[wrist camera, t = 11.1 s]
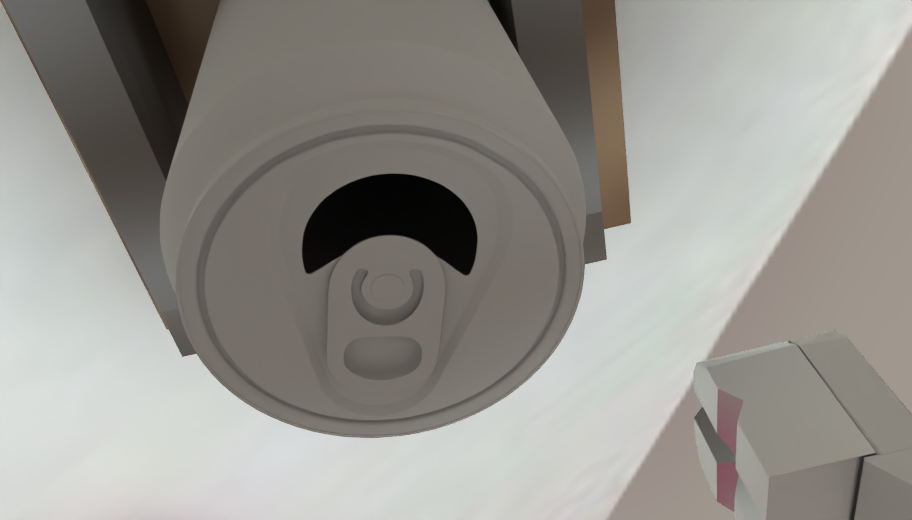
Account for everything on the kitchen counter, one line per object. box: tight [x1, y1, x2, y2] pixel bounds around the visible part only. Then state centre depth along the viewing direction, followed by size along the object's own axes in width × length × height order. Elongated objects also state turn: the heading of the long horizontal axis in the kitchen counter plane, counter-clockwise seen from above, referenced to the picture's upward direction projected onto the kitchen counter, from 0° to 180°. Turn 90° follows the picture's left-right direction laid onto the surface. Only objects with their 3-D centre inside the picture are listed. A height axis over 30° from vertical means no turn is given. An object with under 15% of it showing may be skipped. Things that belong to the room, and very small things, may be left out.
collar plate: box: [1, 0, 631, 357], centre depth 20 cm, size 15×15×5 cm
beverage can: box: [160, 0, 586, 438], centre depth 16 cm, size 6×6×12 cm
